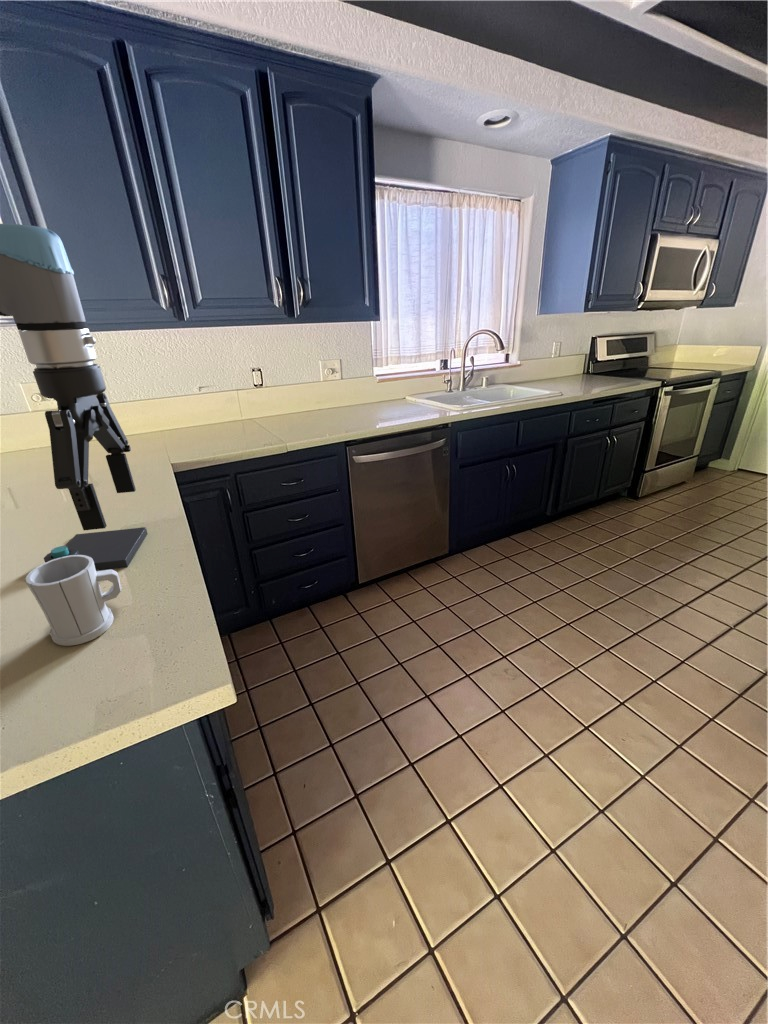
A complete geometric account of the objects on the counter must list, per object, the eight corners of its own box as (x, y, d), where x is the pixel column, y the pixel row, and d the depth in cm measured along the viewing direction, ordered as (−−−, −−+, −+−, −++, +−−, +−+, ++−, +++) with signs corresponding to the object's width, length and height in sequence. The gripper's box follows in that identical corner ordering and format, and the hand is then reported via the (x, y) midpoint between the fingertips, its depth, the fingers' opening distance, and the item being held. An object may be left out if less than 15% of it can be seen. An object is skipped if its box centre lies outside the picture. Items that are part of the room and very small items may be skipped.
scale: (44, 578, 86) (38, 563, 84) (77, 541, 99) (72, 528, 98) (127, 568, 89) (122, 553, 87) (147, 534, 102) (144, 520, 101)
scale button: (50, 560, 86) (47, 553, 85) (57, 553, 89) (54, 546, 88) (66, 558, 87) (63, 551, 86) (72, 551, 89) (69, 545, 88)
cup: (99, 602, 79) (78, 545, 73) (135, 613, 75) (116, 555, 70) (40, 639, 70) (11, 578, 65) (78, 653, 67) (51, 591, 62)
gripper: (52, 376, 47) (109, 544, 56) (126, 354, 69) (158, 477, 78) (-27, 379, 45) (45, 551, 54) (75, 356, 67) (114, 481, 76)
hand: (112, 508), depth 66 cm, fingers open, 13 cm apart
